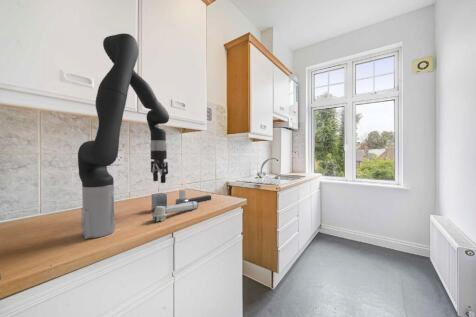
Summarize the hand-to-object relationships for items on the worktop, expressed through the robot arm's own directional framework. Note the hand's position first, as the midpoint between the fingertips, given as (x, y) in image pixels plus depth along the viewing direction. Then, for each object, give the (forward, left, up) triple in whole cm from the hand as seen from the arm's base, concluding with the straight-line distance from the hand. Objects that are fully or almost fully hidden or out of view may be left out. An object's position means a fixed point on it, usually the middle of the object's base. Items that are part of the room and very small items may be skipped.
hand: (159, 182), depth 101 cm
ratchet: (+21, 0, -14) cm, 25 cm away
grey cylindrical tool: (+2, -13, -15) cm, 20 cm away
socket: (0, 0, -14) cm, 14 cm away
